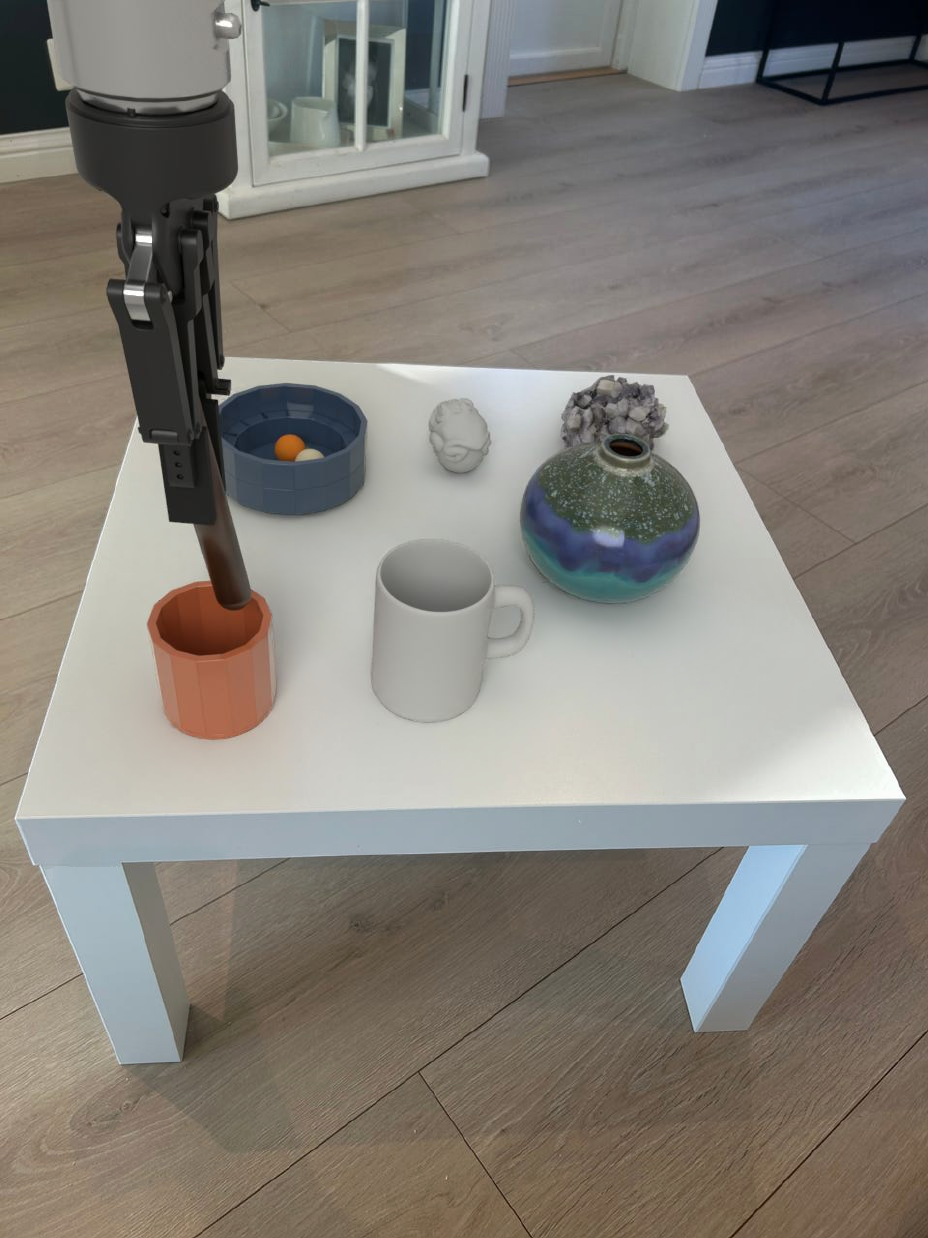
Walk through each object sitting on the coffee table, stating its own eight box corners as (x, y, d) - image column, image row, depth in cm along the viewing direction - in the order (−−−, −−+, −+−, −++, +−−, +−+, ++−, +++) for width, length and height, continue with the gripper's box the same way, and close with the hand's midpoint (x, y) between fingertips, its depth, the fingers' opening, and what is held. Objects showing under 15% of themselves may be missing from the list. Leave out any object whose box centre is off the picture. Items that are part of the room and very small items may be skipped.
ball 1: (280, 461, 95) (262, 449, 93) (298, 436, 95) (281, 423, 92) (299, 476, 94) (282, 464, 91) (317, 451, 94) (301, 438, 91)
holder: (149, 736, 69) (133, 656, 63) (177, 653, 75) (165, 574, 69) (264, 744, 69) (259, 666, 64) (283, 662, 75) (279, 584, 70)
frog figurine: (463, 442, 101) (469, 382, 96) (500, 477, 97) (509, 416, 92) (413, 456, 98) (417, 395, 94) (449, 492, 94) (455, 430, 89)
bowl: (202, 512, 88) (196, 456, 84) (232, 430, 99) (228, 376, 95) (357, 525, 89) (358, 471, 85) (371, 442, 99) (372, 390, 95)
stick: (212, 611, 66) (134, 363, 53) (235, 590, 67) (165, 344, 55) (239, 622, 65) (166, 371, 52) (262, 601, 66) (196, 352, 54)
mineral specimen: (556, 446, 95) (610, 355, 93) (528, 427, 103) (577, 342, 101) (650, 501, 100) (704, 415, 97) (617, 478, 108) (666, 398, 106)
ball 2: (299, 489, 92) (283, 462, 92) (321, 482, 94) (306, 456, 94) (315, 473, 90) (299, 446, 90) (337, 467, 92) (322, 440, 92)
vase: (668, 528, 93) (704, 406, 84) (693, 637, 82) (737, 510, 73) (510, 514, 92) (529, 389, 83) (512, 622, 81) (535, 492, 72)
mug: (376, 727, 71) (382, 618, 64) (365, 647, 77) (369, 538, 70) (534, 716, 73) (556, 609, 66) (510, 639, 80) (529, 533, 72)
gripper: (194, 150, 39) (235, 591, 55) (260, 56, 50) (278, 443, 66) (4, 130, 38) (100, 580, 54) (114, 40, 50) (167, 434, 66)
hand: (198, 504), depth 60 cm, fingers closed on stick, 2 cm apart
